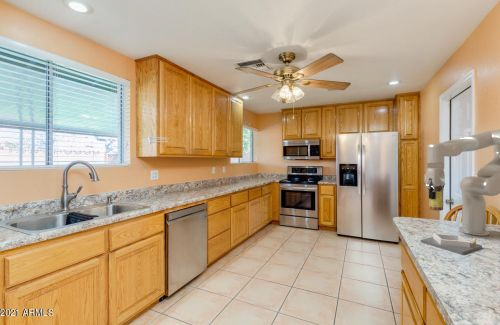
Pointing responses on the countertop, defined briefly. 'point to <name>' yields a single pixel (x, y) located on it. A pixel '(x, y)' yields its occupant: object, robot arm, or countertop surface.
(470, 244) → the locating plate
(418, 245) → the countertop surface
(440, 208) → the sauce bottle
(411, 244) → the countertop surface
